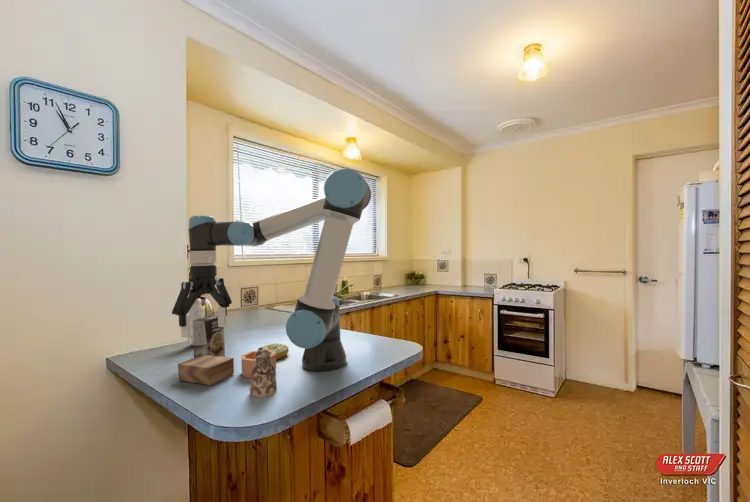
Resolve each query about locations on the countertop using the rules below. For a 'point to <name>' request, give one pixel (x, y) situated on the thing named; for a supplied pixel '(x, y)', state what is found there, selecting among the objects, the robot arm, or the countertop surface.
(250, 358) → the bowl
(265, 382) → the figurine
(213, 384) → the mat
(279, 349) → the decorated donut
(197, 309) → the plastic bottle
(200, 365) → the brown wooden block
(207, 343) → the coffee box
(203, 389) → the countertop surface
